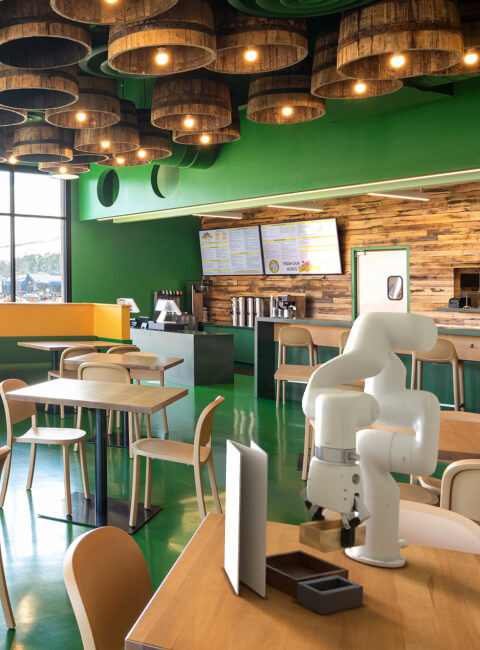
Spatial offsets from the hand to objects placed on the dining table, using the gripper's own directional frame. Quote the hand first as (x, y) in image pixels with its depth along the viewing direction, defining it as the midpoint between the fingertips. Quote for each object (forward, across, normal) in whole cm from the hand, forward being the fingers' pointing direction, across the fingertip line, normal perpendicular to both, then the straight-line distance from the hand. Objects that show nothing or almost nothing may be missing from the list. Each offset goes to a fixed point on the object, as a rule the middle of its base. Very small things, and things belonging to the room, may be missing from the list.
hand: (332, 539), depth 138 cm
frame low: (+13, 0, +1) cm, 13 cm away
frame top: (+1, 0, 0) cm, 1 cm away
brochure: (+13, +14, +10) cm, 21 cm away
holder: (+13, +11, -3) cm, 17 cm away
